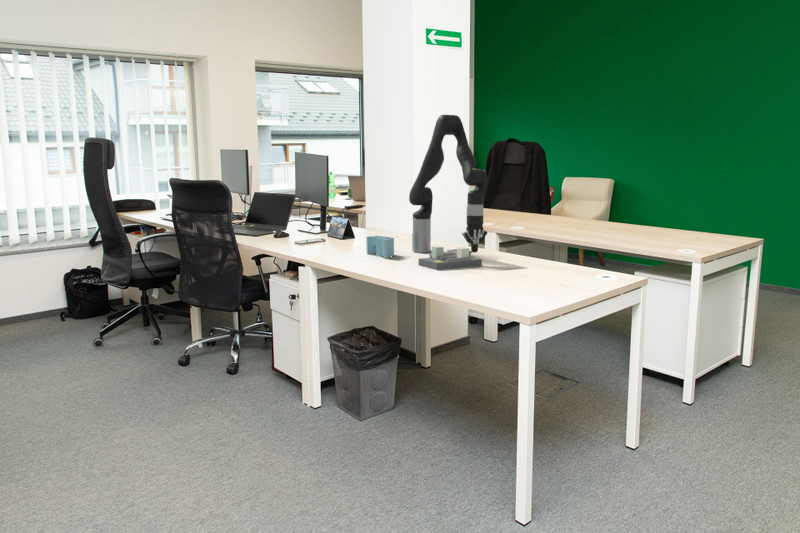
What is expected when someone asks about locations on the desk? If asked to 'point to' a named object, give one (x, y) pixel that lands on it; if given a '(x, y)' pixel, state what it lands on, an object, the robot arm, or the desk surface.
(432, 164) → the robot arm
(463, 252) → the cream tab
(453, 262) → the switch panel
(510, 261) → the desk surface
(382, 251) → the squiggly pen holder
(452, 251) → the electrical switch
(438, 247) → the pale green block
